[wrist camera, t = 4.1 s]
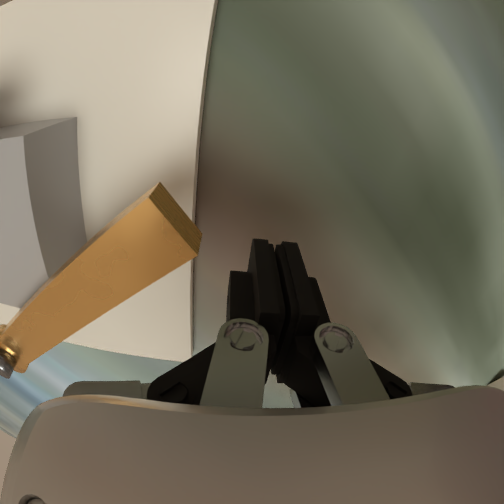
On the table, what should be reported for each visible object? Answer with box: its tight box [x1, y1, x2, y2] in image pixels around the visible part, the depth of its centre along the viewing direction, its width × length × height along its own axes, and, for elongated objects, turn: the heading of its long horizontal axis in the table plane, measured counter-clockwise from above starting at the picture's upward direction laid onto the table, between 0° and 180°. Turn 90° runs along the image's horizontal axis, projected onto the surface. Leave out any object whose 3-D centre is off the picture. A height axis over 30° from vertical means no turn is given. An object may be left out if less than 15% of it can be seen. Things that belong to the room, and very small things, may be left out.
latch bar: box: [0, 182, 202, 379], centre depth 11 cm, size 18×3×3 cm, turn 123°
